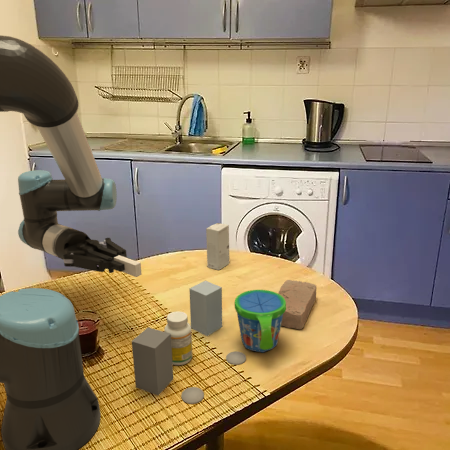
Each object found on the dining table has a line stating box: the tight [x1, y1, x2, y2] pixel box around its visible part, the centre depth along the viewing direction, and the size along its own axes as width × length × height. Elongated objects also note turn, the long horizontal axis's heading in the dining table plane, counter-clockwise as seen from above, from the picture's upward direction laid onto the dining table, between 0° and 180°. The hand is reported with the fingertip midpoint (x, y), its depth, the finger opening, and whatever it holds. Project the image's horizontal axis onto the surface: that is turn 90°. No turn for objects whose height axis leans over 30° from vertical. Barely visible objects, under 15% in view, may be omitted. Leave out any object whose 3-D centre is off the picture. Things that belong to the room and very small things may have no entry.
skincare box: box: [205, 222, 230, 271], centre depth 132 cm, size 6×4×12 cm
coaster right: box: [225, 350, 247, 366], centre depth 92 cm, size 4×4×1 cm
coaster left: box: [180, 386, 205, 405], centre depth 82 cm, size 4×4×1 cm
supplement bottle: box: [163, 310, 193, 366], centre depth 91 cm, size 5×5×10 cm
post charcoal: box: [131, 327, 174, 396], centre depth 84 cm, size 5×5×10 cm
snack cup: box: [234, 289, 286, 353], centre depth 96 cm, size 16×10×10 cm
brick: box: [278, 279, 317, 330], centre depth 109 cm, size 17×8×5 cm, turn 158°
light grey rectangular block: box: [189, 280, 223, 337], centre depth 102 cm, size 5×5×10 cm
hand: (138, 269), depth 94 cm, fingers closed
